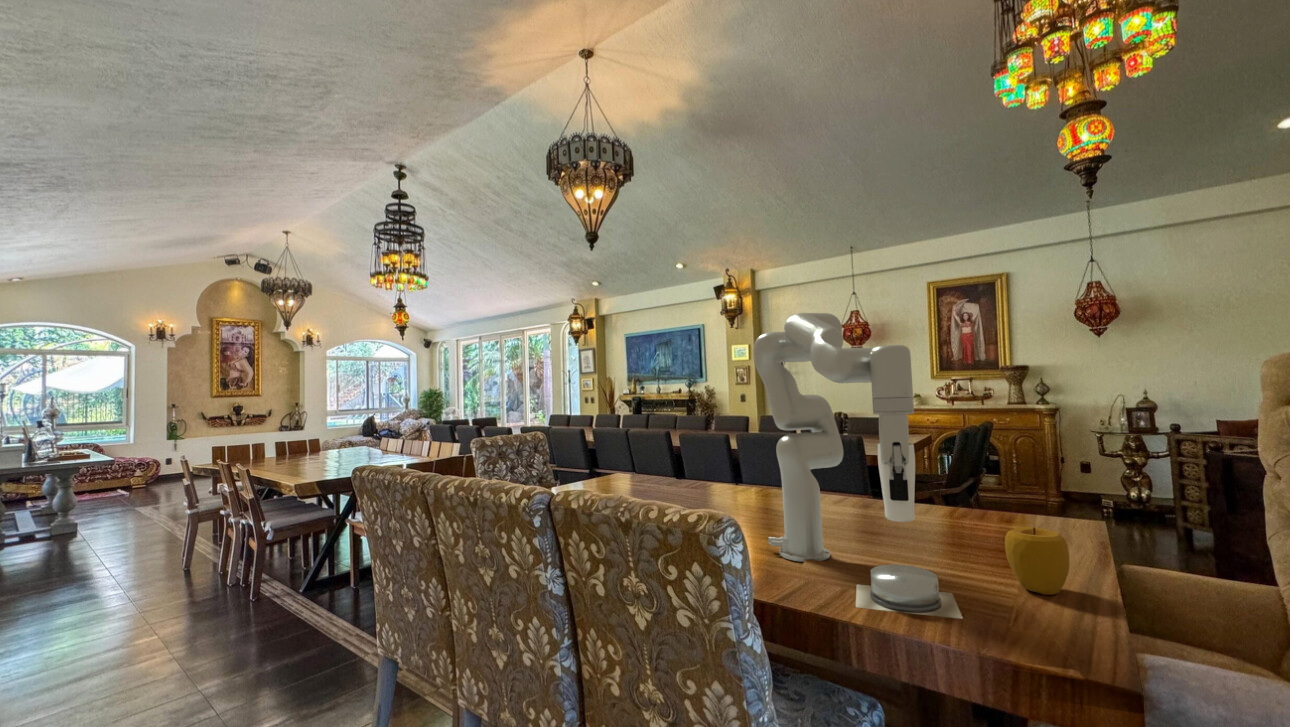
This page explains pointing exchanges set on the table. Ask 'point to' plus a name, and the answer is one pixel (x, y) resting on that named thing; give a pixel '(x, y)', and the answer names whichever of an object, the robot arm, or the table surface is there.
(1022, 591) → the table surface
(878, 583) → the grey short round cylinder
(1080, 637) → the table surface
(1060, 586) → the apple
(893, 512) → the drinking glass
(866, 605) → the board
